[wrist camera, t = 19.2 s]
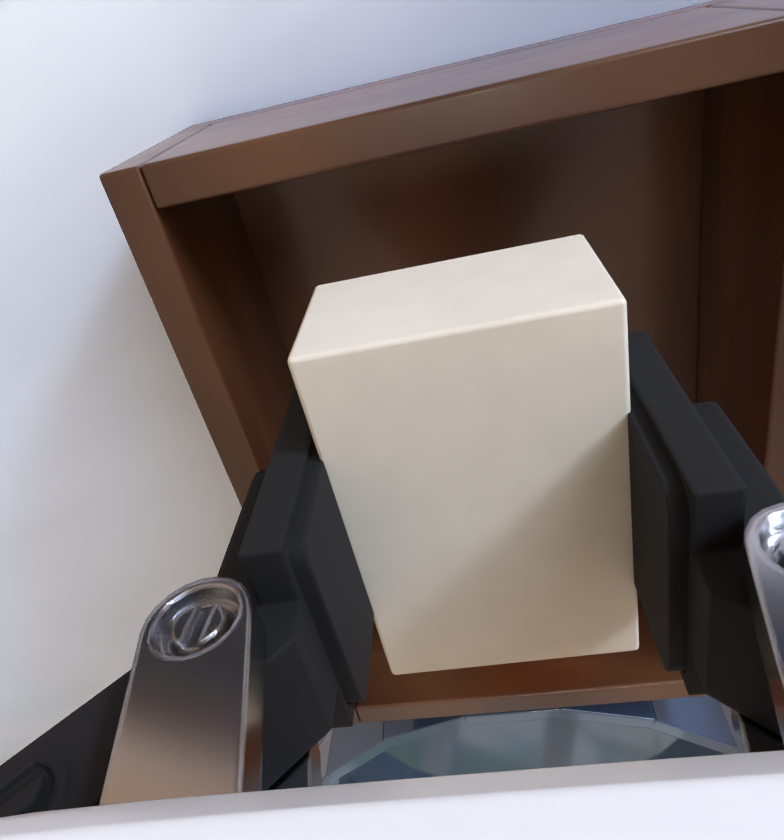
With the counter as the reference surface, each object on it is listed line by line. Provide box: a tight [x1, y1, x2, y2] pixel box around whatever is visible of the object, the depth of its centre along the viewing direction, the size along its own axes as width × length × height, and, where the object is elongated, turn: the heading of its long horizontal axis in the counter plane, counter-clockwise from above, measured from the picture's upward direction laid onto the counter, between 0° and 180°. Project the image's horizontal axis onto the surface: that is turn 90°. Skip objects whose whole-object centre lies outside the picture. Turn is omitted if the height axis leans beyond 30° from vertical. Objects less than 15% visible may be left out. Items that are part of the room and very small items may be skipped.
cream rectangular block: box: [288, 234, 639, 675], centre depth 10 cm, size 4×6×2 cm, turn 12°
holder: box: [100, 0, 784, 724], centre depth 17 cm, size 13×17×5 cm
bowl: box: [318, 696, 738, 786], centre depth 28 cm, size 19×19×4 cm
